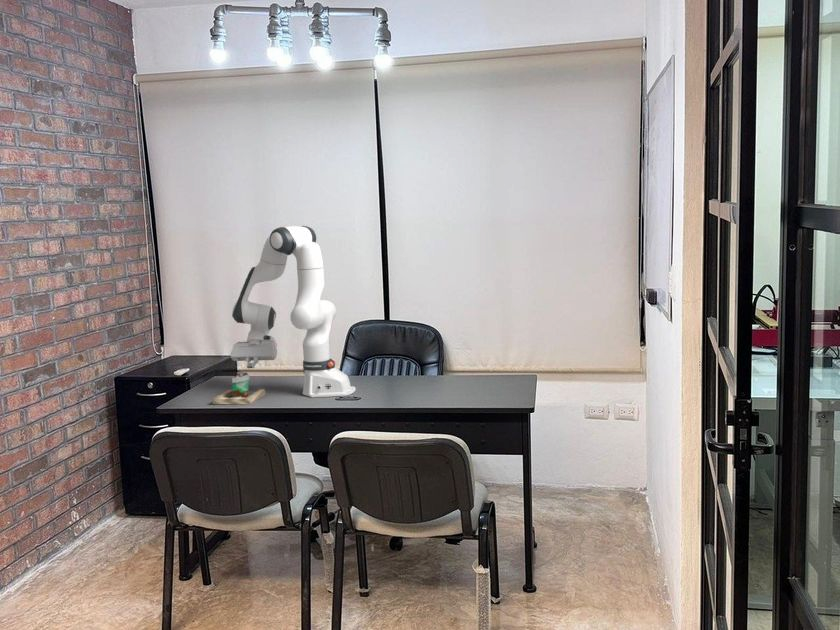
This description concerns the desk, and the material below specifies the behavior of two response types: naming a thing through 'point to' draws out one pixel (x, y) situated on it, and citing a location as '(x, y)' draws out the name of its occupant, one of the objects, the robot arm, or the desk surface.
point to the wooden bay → (225, 398)
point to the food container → (240, 385)
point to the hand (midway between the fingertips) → (250, 367)
